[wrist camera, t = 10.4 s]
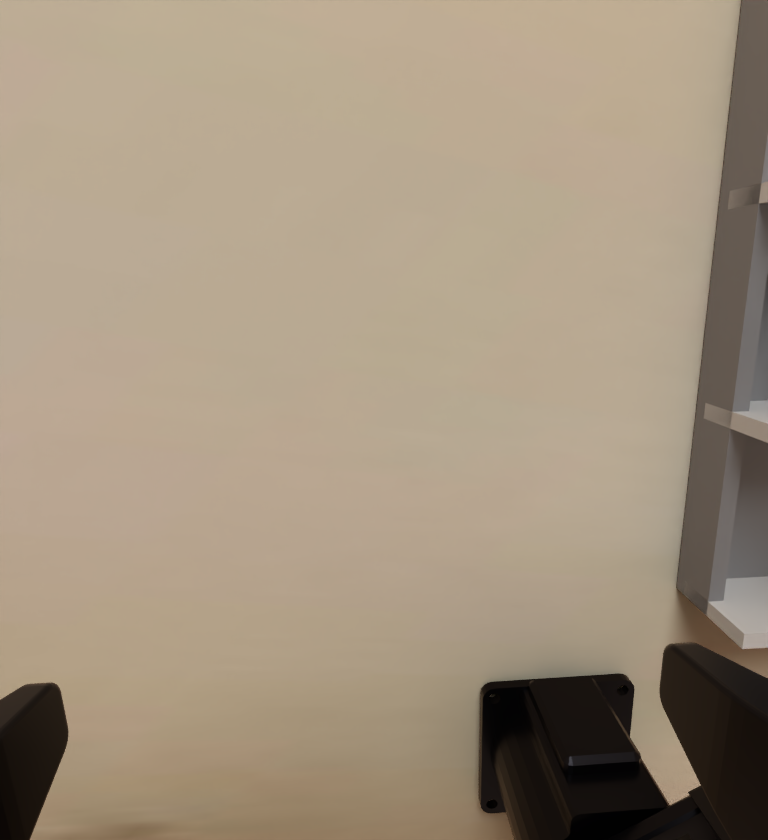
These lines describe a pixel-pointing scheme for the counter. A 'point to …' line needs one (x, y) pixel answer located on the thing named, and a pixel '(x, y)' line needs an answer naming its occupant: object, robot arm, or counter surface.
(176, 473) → the counter surface
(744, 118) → the shelf unit
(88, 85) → the counter surface
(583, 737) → the robot arm
